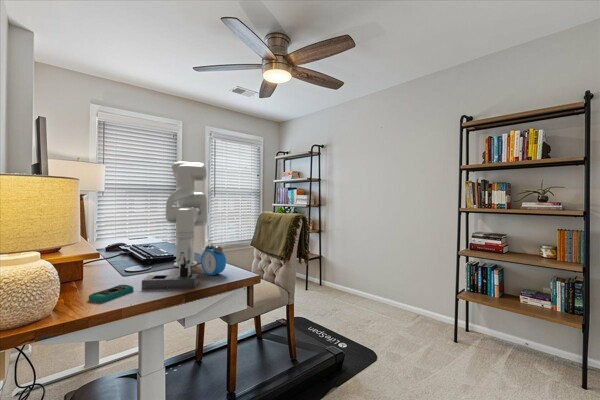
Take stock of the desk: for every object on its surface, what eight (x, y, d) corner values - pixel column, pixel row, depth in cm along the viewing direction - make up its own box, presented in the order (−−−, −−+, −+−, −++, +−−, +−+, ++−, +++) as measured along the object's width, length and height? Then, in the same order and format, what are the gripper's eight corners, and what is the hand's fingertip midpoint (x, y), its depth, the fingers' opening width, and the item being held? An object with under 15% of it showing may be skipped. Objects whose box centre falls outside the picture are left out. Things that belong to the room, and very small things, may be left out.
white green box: (181, 276, 133) (181, 261, 133) (190, 276, 133) (190, 261, 133) (179, 279, 129) (179, 263, 129) (188, 279, 129) (188, 263, 129)
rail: (148, 283, 132) (148, 275, 132) (198, 282, 136) (198, 273, 136) (141, 289, 125) (141, 280, 124) (194, 287, 128) (194, 278, 128)
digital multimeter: (135, 292, 123) (135, 285, 123) (101, 304, 109) (101, 296, 109) (122, 290, 125) (122, 283, 125) (87, 301, 111) (87, 294, 111)
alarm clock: (200, 273, 150) (200, 245, 150) (210, 271, 156) (210, 243, 155) (217, 277, 143) (217, 247, 143) (226, 275, 148) (226, 246, 148)
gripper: (181, 233, 138) (181, 270, 139) (171, 238, 122) (171, 281, 122) (197, 232, 139) (197, 270, 140) (189, 238, 123) (189, 280, 123)
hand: (185, 275), depth 131 cm, fingers closed on white green box, 4 cm apart
